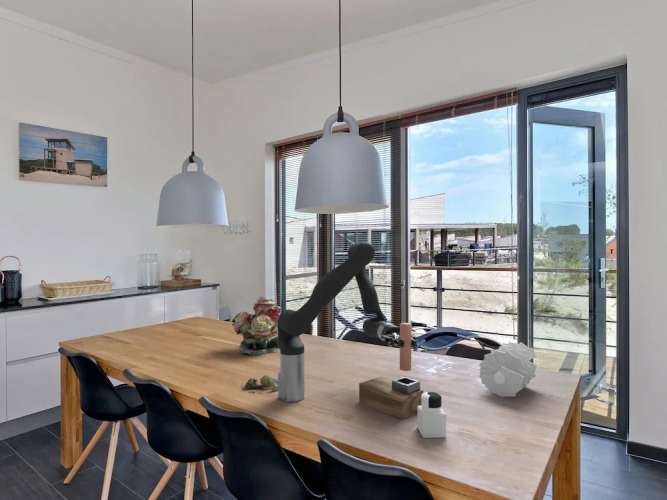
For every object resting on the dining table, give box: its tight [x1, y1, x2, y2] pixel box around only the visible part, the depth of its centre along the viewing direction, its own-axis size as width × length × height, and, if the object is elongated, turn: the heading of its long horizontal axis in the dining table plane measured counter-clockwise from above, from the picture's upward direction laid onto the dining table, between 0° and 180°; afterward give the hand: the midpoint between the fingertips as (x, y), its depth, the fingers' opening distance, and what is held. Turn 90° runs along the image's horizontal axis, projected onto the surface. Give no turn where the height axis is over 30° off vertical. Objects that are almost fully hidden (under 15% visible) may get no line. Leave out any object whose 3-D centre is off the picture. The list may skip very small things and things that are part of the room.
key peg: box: [399, 322, 413, 372], centre depth 141 cm, size 4×4×16 cm
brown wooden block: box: [358, 376, 424, 421], centre depth 144 cm, size 12×20×10 cm, turn 40°
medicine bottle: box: [416, 391, 447, 439], centre depth 123 cm, size 7×7×12 cm
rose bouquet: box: [232, 296, 283, 357], centre depth 223 cm, size 26×29×30 cm
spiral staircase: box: [478, 341, 538, 399], centre depth 160 cm, size 18×18×25 cm
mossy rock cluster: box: [240, 374, 278, 395], centre depth 166 cm, size 18×18×5 cm
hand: (409, 344), depth 138 cm, fingers closed on key peg, 4 cm apart
